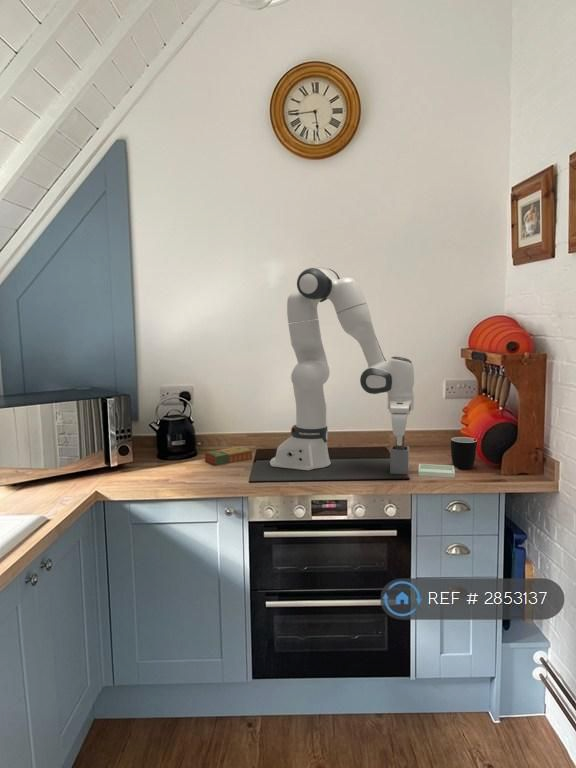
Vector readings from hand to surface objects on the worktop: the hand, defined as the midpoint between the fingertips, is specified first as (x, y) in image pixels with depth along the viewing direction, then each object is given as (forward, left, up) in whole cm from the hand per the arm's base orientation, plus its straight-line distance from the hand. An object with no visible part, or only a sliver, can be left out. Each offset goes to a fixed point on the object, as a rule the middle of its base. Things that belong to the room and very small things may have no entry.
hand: (399, 443), depth 208 cm
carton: (-64, +5, -11) cm, 66 cm away
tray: (+13, +1, -11) cm, 16 cm away
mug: (+22, +14, -11) cm, 28 cm away
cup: (0, 0, -11) cm, 11 cm away
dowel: (0, 0, -10) cm, 10 cm away
